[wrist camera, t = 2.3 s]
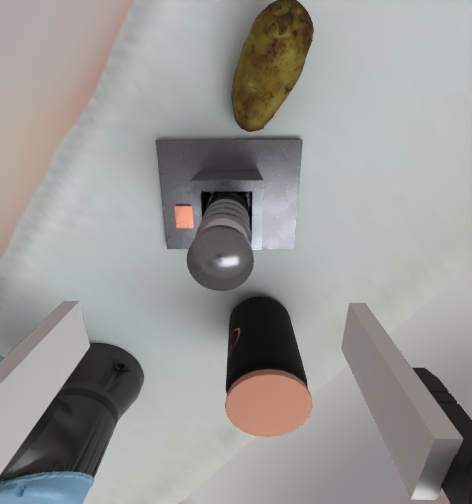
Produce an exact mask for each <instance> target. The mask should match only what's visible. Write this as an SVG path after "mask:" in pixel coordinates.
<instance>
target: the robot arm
mask: <svg viewBox="0 0 472 504" xmlns="http://www.w3.org/2000/svg"><path fill="white" fill-rule="evenodd" d="M341 349H342V351H343V353H344V355H345V358H346V360H347V362H348V364H349V366H350V368H351V370H352V373H353V375H354V377H355V379H356V381H357V383H358V386H359V388H360V390H361V392H362V394H363V396H364V399H365V401H366V403H367V405H368V407H369V409H370V412H371V414H372V416H373V418H374V420H375V422H376V424H377V427H378V429H379V431H380V433H381V435H382V438H383V440H384V442H385V444H386V446H387V448H388V450H389V453H390V455H391V457H392V459H393V461H394V464H395V466H396V468H397V470H398V472H399V474H400V477H401V479H402V481H403V483H404V485H405V487H406V490H407V492H408V494H409V496H410V498H411V499H418V500H437V497H438V495H439V493H440V491H441V488H442V489H443V490H444V492H445V494H446V496H447V498H448V499H449V501H450V504H472V420H471V419H470V417H469V416H468V415H467V414H466V413H465V411H464V410H463V409H462V407H461V406H460V405H459V404H457V401H456V400H455V399H454V397H453V396H452V395H451V394H449V393H448V390H447V389H446V387H445V386H444V385H443V384H442V382H441V381H440V380H439V379H438V378H437V377H436V376H435V375H433V374H432V373H431V372H429V371H428V370H427V369H425V368H412V367H411V366H410V364H409V363H408V362H407V360H406V359H405V358H404V356H403V355H402V353H401V352H400V351H399V349H398V348H397V346H396V345H395V344H394V342H393V341H392V339H391V338H390V337H389V335H388V334H387V333H386V331H385V330H384V328H383V327H382V326H381V324H380V323H379V322H378V320H377V319H376V317H375V316H374V315H373V313H372V312H371V310H370V309H369V308H368V306H367V305H366V304H365V303H349V307H348V313H347V319H346V325H345V330H344V336H343V342H342V348H341ZM143 381H144V375H143V371H142V368H141V366H140V365H139V363H138V362H137V361H136V359H135V358H134V357H132V356H131V355H130V354H129V353H127V352H126V351H124V350H122V349H120V348H118V347H115V346H111V345H107V344H89V340H88V336H87V332H86V328H85V324H84V320H83V316H82V312H81V308H80V304H79V302H68V301H63V302H62V303H61V304H60V305H59V306H58V307H57V308H56V309H55V310H54V311H53V312H52V313H51V314H50V315H49V316H48V317H47V318H46V319H45V320H44V321H43V322H42V323H40V324H39V325H38V326H37V327H36V328H35V329H34V330H33V331H32V332H31V333H30V334H29V335H28V336H27V337H26V338H25V339H24V340H23V341H22V342H21V343H20V344H19V345H17V346H16V347H15V348H14V349H13V350H12V351H11V352H10V353H9V354H8V355H7V356H6V357H5V358H4V357H3V356H1V355H0V504H82V503H83V501H84V499H85V497H86V495H87V493H88V491H89V489H90V487H91V486H92V485H93V482H94V477H95V475H96V473H97V470H98V468H99V465H100V463H101V460H102V458H103V456H104V453H105V451H106V448H107V446H108V443H109V441H110V439H111V436H112V434H113V431H114V429H115V426H116V424H117V422H118V420H119V419H120V418H121V416H122V415H123V414H124V413H125V412H126V411H127V409H128V408H129V407H130V406H131V404H132V403H133V402H134V401H135V400H136V399H137V397H138V395H139V393H140V390H141V388H142V385H143Z"/></svg>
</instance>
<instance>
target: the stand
mask: <svg viewBox="0 0 472 504" xmlns="http://www.w3.org/2000/svg"><path fill="white" fill-rule="evenodd" d="M156 145H157V155H158V165H159V174H160V184H161V194H162V204H163V213H164V223H165V233H166V243H167V249H189V248H190V246H191V243H192V241H193V239H194V238H195V235H196V232H197V229H198V227H199V225H200V223H201V220H202V218H203V216H204V213H205V211H206V209H207V207H208V204H209V202H210V200H211V197H212V195H213V193H214V191H244V192H245V194H246V196H247V205H248V215H249V223H250V231H251V242H252V243H251V246H252V250H262V249H294V242H295V229H296V216H297V204H298V191H299V178H300V165H301V153H302V140H156Z"/></svg>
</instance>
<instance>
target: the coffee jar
mask: <svg viewBox="0 0 472 504" xmlns="http://www.w3.org/2000/svg"><path fill="white" fill-rule="evenodd" d="M226 392H227V397H226V404H225V409H226V412H227V416H228V418H229V419H230V420H231V422H232V423H233V424H234V425H235V426H236V427H238V428H239V429H241V430H242V431H244V432H246V433H249V434H252V435H255V436H265V437H271V436H279V435H283V434H286V433H289V432H292V431H294V430H295V429H297V428H298V427H300V426H301V425H303V423H304V422H305V421H306V420H307V418H308V417H309V415H310V412H311V409H312V400H311V395H310V392H309V390H308V387H307V379H306V375H305V371H304V368H303V364H302V360H301V357H300V353H299V349H298V346H297V342H296V338H295V335H294V331H293V327H292V324H291V320H290V316H289V314H288V312H287V310H286V309H285V307H283V306H282V305H281V304H280V303H279V302H277V301H275V300H273V299H270V298H266V297H255V298H250V299H248V300H245V301H243V302H242V303H240V304H239V305H238V306H237V307H236V308H235V309H234V311H233V313H232V314H231V316H230V323H229V339H228V358H227V377H226Z"/></svg>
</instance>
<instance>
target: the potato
mask: <svg viewBox="0 0 472 504" xmlns="http://www.w3.org/2000/svg"><path fill="white" fill-rule="evenodd" d="M313 32H314V29H313V23H312V21H311V18H310V16H309V14H308V12H307V10H306V9H305V8H304V7H303V6H302V5H301V4H300V3H299V2H298V1H297V0H277V1H275V2H273V3H271V4H269V5H268V6H267V7H266V8H265V9H264V10H263V11H262V12H261V13H260V14H259V15H258V17H257V18H256V19H255V21H254V23H253V25H252V27H251V30H250V32H249V35H248V37H247V39H246V41H245V43H244V46H243V49H242V52H241V56H240V59H239V62H238V65H237V68H236V71H235V76H234V80H233V86H232V105H233V110H234V115H235V119H236V121H237V123H238V125H239V126H240V127H241V129H244V130H246V131H249V132H253V131H257V130H260V129H263V128H264V126H265V125H266V124H267V123H268V122H269V120H271V119H272V117H273V116H274V114H275V112H276V111H277V110H278V109H279V107H280V106H281V105H282V103H283V102H284V100H285V99H286V98H287V96H288V95H289V93H290V92H291V90H292V89H293V87H294V86H295V84H296V82H297V81H298V79H299V77H300V75H301V72H302V69H303V66H304V63H305V58H306V56H307V53H308V51H309V48H310V45H311V42H312V38H313Z"/></svg>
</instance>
